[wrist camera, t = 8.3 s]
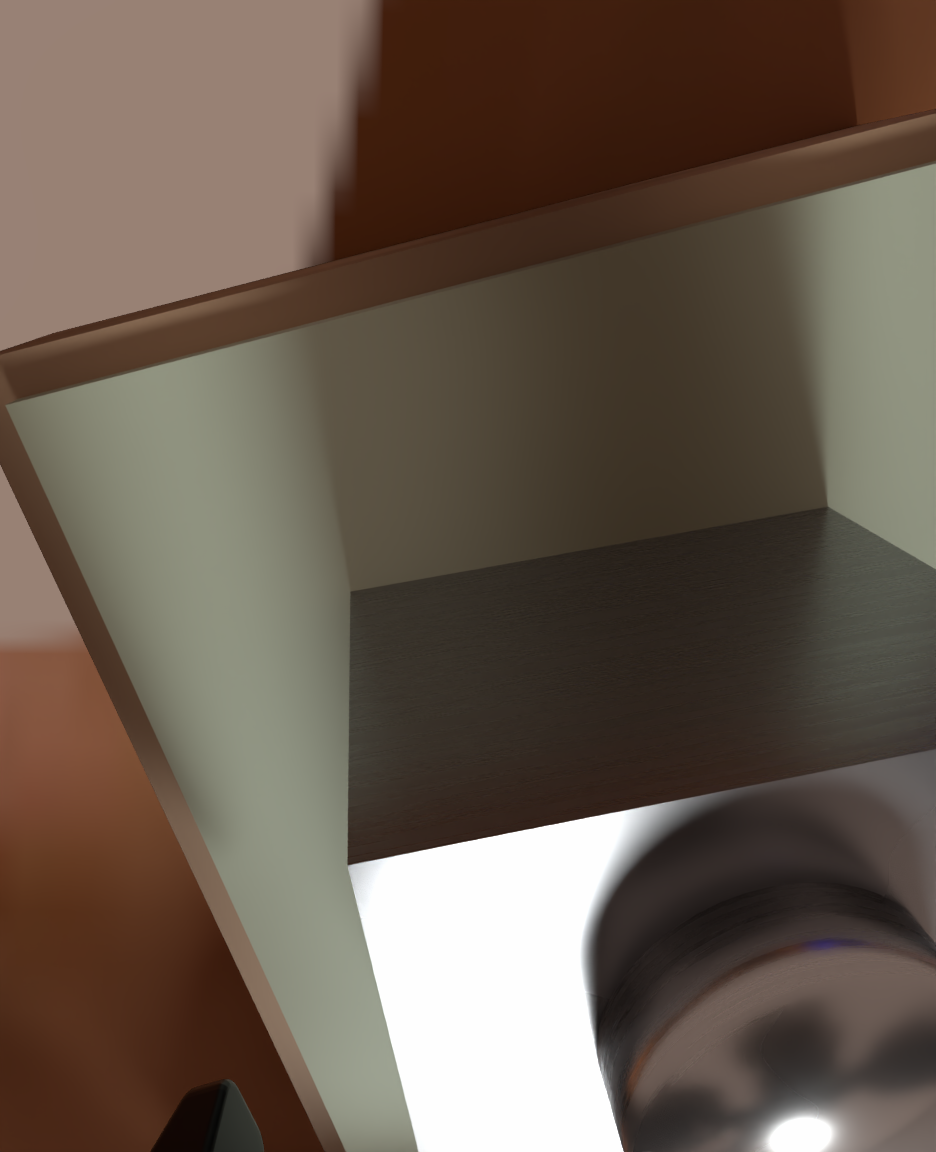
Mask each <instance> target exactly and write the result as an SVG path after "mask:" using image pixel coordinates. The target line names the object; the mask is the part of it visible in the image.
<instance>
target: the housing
mask: <svg viewBox="0 0 936 1152" xmlns="http://www.w3.org/2000/svg"><path fill="white" fill-rule="evenodd" d="M347 866H348V870H349V874H350V878H351V882H352V886H353V890H354V894H355V898H356V902H357V906H358V910H359V914H360V918H361V922H362V926H363V930H364V934H365V938H366V942H367V946H368V950H369V954H370V958H371V962H372V966H373V970H374V974H375V978H376V982H377V987H378V991H379V995H380V999H381V1003H382V1007H383V1011H384V1015H385V1019H386V1023H387V1027H388V1031H389V1035H390V1039H391V1043H392V1047H393V1051H394V1055H395V1059H396V1063H397V1067H398V1071H399V1075H400V1079H401V1083H402V1087H403V1091H404V1095H405V1099H406V1103H407V1107H408V1111H409V1115H410V1119H411V1123H412V1127H413V1131H414V1135H415V1139H416V1143H417V1147H418V1151H419V1152H936V569H934V568H933V567H931V566H929V565H928V564H926V563H924V562H922V561H921V560H919V559H917V558H916V557H914V556H912V555H910V554H909V553H907V552H905V551H904V550H902V549H900V548H898V547H897V546H895V545H893V544H891V543H890V542H888V541H886V540H885V539H883V538H881V537H879V536H878V535H876V534H874V533H873V532H871V531H869V530H867V529H866V528H864V527H862V526H861V525H859V524H857V523H855V522H854V521H852V520H850V519H848V518H847V517H845V516H843V515H842V514H840V513H838V512H836V511H835V510H833V509H831V508H830V507H823V508H817V509H812V510H806V511H800V512H795V513H789V514H783V515H778V516H772V517H767V518H761V519H755V520H750V521H744V522H739V523H733V524H727V525H722V526H716V527H710V528H705V529H699V530H694V531H688V532H682V533H677V534H671V535H666V536H660V537H654V538H649V539H643V540H637V541H632V542H626V543H621V544H615V545H609V546H604V547H598V548H593V549H587V550H581V551H576V552H570V553H564V554H559V555H553V556H548V557H542V558H536V559H531V560H525V561H520V562H514V563H508V564H503V565H497V566H491V567H486V568H480V569H475V570H469V571H463V572H458V573H452V574H447V575H441V576H435V577H430V578H424V579H418V580H413V581H407V582H402V583H396V584H390V585H385V586H379V587H374V588H368V589H362V590H357V591H351V592H350V670H349V763H348V856H347Z"/></svg>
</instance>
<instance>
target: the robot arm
mask: <svg viewBox="0 0 936 1152" xmlns="http://www.w3.org/2000/svg"><path fill="white" fill-rule="evenodd" d="M151 1152H264V1146H263V1141H262V1137H261V1133H260V1131H259V1128H258V1126H257V1124H256V1122H255V1120H254V1118H253V1116H252V1114H251V1112H250V1110H249V1108H248V1107H247V1105H246V1103H245V1101H244V1099H243V1097H242V1095H241V1093H240V1091H239V1089H238V1087H237V1086H236V1084H235V1083H234V1082H233V1081H231V1080H229V1079H223V1080H219V1081H216V1082H212V1083H208V1084H205V1085H201V1086H198V1087H195V1088H193V1089H191V1090H190V1091H189V1092H188V1093H187V1094H186V1095H185V1096H184V1097H183V1099H182V1100H181V1102H180V1103H179V1105H178V1107H177V1108H176V1110H175V1112H174V1113H173V1115H172V1117H171V1118H170V1120H169V1122H168V1123H167V1125H166V1127H165V1128H164V1130H163V1132H162V1133H161V1135H160V1137H159V1138H158V1140H157V1142H156V1143H155V1145H154V1147H153V1148H152V1150H151Z"/></svg>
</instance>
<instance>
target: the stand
mask: <svg viewBox="0 0 936 1152" xmlns="http://www.w3.org/2000/svg"><path fill="white" fill-rule="evenodd" d="M0 465H1V467H2V469H3V471H4V473H5V475H6V477H7V480H8V482H9V484H10V486H11V488H12V490H13V493H14V494H15V497H16V499H17V501H18V503H19V505H20V507H21V509H22V511H23V514H24V516H25V518H26V520H27V522H28V524H29V526H30V529H31V531H32V533H33V535H34V537H35V539H36V541H37V543H38V545H39V547H40V550H41V552H42V554H43V556H44V558H45V560H46V562H47V565H48V566H49V569H50V571H51V573H52V575H53V577H54V579H55V581H56V584H57V585H58V588H59V590H60V592H61V594H62V596H63V598H64V600H65V603H66V605H67V607H68V609H69V611H70V613H71V615H72V617H73V620H74V622H75V624H76V626H77V628H78V630H79V632H80V634H81V637H82V639H83V641H84V643H85V645H86V647H87V649H88V651H89V654H90V656H91V658H92V660H93V662H94V664H95V666H96V668H97V670H98V673H99V675H100V677H101V679H102V681H103V683H104V685H105V687H106V690H107V692H108V694H109V696H110V698H111V700H112V702H113V704H114V706H115V709H116V711H117V713H118V715H119V717H120V719H121V721H122V723H123V726H124V728H125V730H126V732H127V734H128V736H129V738H130V740H131V742H132V745H133V747H134V749H135V751H136V753H137V755H138V757H139V759H140V762H141V764H142V766H143V768H144V770H145V772H146V774H147V776H148V778H149V781H150V783H151V785H152V787H153V789H154V791H155V793H156V795H157V798H158V800H159V802H160V804H161V806H162V808H163V810H164V812H165V815H166V817H167V819H168V821H169V823H170V825H171V827H172V829H173V831H174V834H175V836H176V838H177V840H178V842H179V844H180V846H181V848H182V851H183V853H184V855H185V857H186V859H187V861H188V863H189V865H190V867H191V870H192V872H193V874H194V876H195V878H196V880H197V882H198V884H199V887H200V889H201V891H202V893H203V895H204V897H205V899H206V901H207V903H208V906H209V908H210V910H211V912H212V914H213V916H214V918H215V920H216V923H217V925H218V927H219V929H220V931H221V933H222V935H223V937H224V939H225V942H226V944H227V946H228V948H229V950H230V952H231V954H232V956H233V959H234V961H235V963H236V965H237V967H238V969H239V971H240V973H241V975H242V978H243V980H244V982H245V984H246V986H247V988H248V990H249V992H250V995H251V997H252V999H253V1001H254V1003H255V1005H256V1007H257V1009H258V1012H259V1014H260V1016H261V1018H262V1020H263V1022H264V1024H265V1026H266V1028H267V1031H268V1033H269V1035H270V1037H271V1039H272V1041H273V1043H274V1045H275V1048H276V1050H277V1052H278V1054H279V1056H280V1058H281V1060H282V1062H283V1064H284V1067H285V1069H286V1071H287V1073H288V1075H289V1077H290V1079H291V1081H292V1084H293V1086H294V1088H295V1090H296V1092H297V1094H298V1096H299V1098H300V1100H301V1103H302V1105H303V1107H304V1109H305V1111H306V1113H307V1115H308V1117H309V1120H310V1122H311V1124H312V1126H313V1128H314V1130H315V1132H316V1134H317V1136H318V1139H319V1141H320V1143H321V1145H322V1147H323V1149H324V1151H325V1152H419V1151H418V1147H417V1143H416V1139H415V1135H414V1131H413V1127H412V1123H411V1119H410V1115H409V1111H408V1107H407V1103H406V1099H405V1095H404V1091H403V1087H402V1083H401V1079H400V1075H399V1071H398V1067H397V1063H396V1059H395V1055H394V1051H393V1047H392V1043H391V1039H390V1035H389V1031H388V1027H387V1023H386V1019H385V1015H384V1011H383V1007H382V1003H381V999H380V995H379V991H378V987H377V982H376V978H375V974H374V970H373V966H372V962H371V958H370V954H369V950H368V946H367V942H366V938H365V934H364V930H363V926H362V922H361V918H360V914H359V910H358V906H357V902H356V898H355V894H354V890H353V886H352V882H351V878H350V874H349V870H348V866H347V856H348V763H349V670H350V592H351V591H357V590H362V589H368V588H374V587H379V586H385V585H390V584H396V583H402V582H407V581H413V580H418V579H424V578H430V577H435V576H441V575H447V574H452V573H458V572H463V571H469V570H475V569H480V568H486V567H491V566H497V565H503V564H508V563H514V562H520V561H525V560H531V559H536V558H542V557H548V556H553V555H559V554H564V553H570V552H576V551H581V550H587V549H593V548H598V547H604V546H609V545H615V544H621V543H626V542H632V541H637V540H643V539H649V538H654V537H660V536H666V535H671V534H677V533H682V532H688V531H694V530H699V529H705V528H710V527H716V526H722V525H727V524H733V523H739V522H744V521H750V520H755V519H761V518H767V517H772V516H778V515H783V514H789V513H795V512H800V511H806V510H812V509H817V508H823V507H830V508H831V509H833V510H835V511H836V512H838V513H840V514H842V515H843V516H845V517H847V518H848V519H850V520H852V521H854V522H855V523H857V524H859V525H861V526H862V527H864V528H866V529H867V530H869V531H871V532H873V533H874V534H876V535H878V536H879V537H881V538H883V539H885V540H886V541H888V542H890V543H891V544H893V545H895V546H897V547H898V548H900V549H902V550H904V551H905V552H907V553H909V554H910V555H912V556H914V557H916V558H917V559H919V560H921V561H922V562H924V563H926V564H928V565H929V566H931V567H933V568H934V569H936V109H934V110H929V111H925V112H920V113H915V114H910V115H906V116H901V117H896V118H891V119H887V120H882V121H877V122H872V123H867V124H863V125H858V126H854V127H851V128H847V129H843V130H839V131H835V132H831V133H827V134H823V135H820V136H816V137H812V138H808V139H804V140H800V141H796V142H792V143H789V144H785V145H781V146H777V147H773V148H769V149H765V150H761V151H758V152H754V153H750V154H746V155H742V156H738V157H734V158H730V159H727V160H723V161H719V162H715V163H711V164H707V165H703V166H699V167H696V168H692V169H688V170H684V171H680V172H676V173H672V174H668V175H665V176H661V177H657V178H653V179H649V180H645V181H641V182H637V183H634V184H630V185H626V186H622V187H618V188H614V189H610V190H606V191H602V192H599V193H595V194H591V195H587V196H583V197H579V198H575V199H571V200H568V201H564V202H560V203H556V204H552V205H548V206H544V207H540V208H537V209H533V210H529V211H525V212H521V213H517V214H513V215H509V216H506V217H502V218H498V219H494V220H490V221H486V222H482V223H478V224H475V225H471V226H467V227H463V228H459V229H455V230H451V231H447V232H444V233H440V234H436V235H432V236H428V237H424V238H420V239H416V240H413V241H409V242H405V243H401V244H397V245H393V246H389V247H385V248H382V249H378V250H374V251H370V252H366V253H362V254H358V255H354V256H351V257H347V258H343V259H339V260H335V261H331V262H327V263H323V264H320V265H316V266H312V267H308V268H304V269H300V270H296V271H292V272H289V273H285V274H281V275H277V276H273V277H270V278H266V279H261V280H258V281H254V282H250V283H246V284H242V285H238V286H234V287H230V288H227V289H223V290H219V291H215V292H211V293H207V294H203V295H200V296H196V297H192V298H188V299H184V300H180V301H176V302H173V303H169V304H165V305H161V306H157V307H153V308H149V309H146V310H142V311H137V312H134V313H130V314H126V315H122V316H118V317H114V318H110V319H106V320H102V321H99V322H95V323H91V324H87V325H83V326H79V327H75V328H71V329H68V330H64V331H60V332H56V333H52V334H50V335H47V336H44V337H41V338H38V339H35V340H32V341H29V342H26V343H23V344H20V345H17V346H14V347H11V348H8V349H5V350H2V351H0Z"/></svg>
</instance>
